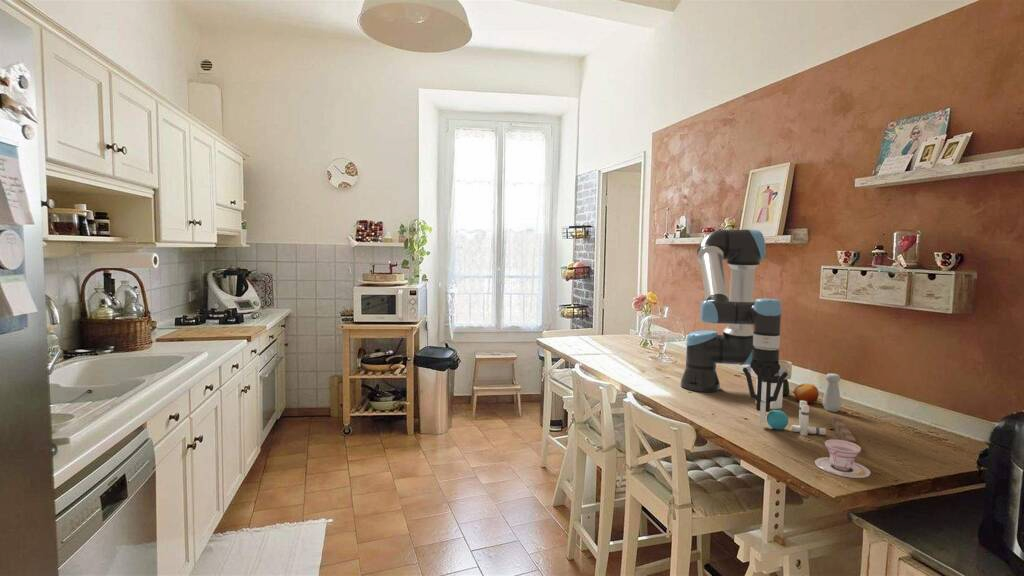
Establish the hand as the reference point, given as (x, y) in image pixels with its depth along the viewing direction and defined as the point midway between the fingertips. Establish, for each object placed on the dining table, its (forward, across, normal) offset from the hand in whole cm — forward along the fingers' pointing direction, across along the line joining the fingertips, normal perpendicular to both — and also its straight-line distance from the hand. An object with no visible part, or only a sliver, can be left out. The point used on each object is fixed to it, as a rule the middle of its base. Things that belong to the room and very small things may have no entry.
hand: (762, 421), depth 160 cm
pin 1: (+2, +11, +4) cm, 12 cm away
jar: (+2, +1, +27) cm, 27 cm away
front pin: (+1, +8, 0) cm, 8 cm away
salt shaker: (+2, +21, +32) cm, 39 cm away
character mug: (+2, +5, +46) cm, 47 cm away
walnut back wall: (+2, +22, +2) cm, 22 cm away
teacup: (+2, +19, -24) cm, 31 cm away
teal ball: (-1, +4, 0) cm, 4 cm away
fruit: (+2, +13, +40) cm, 42 cm away
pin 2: (+2, +11, -1) cm, 12 cm away
